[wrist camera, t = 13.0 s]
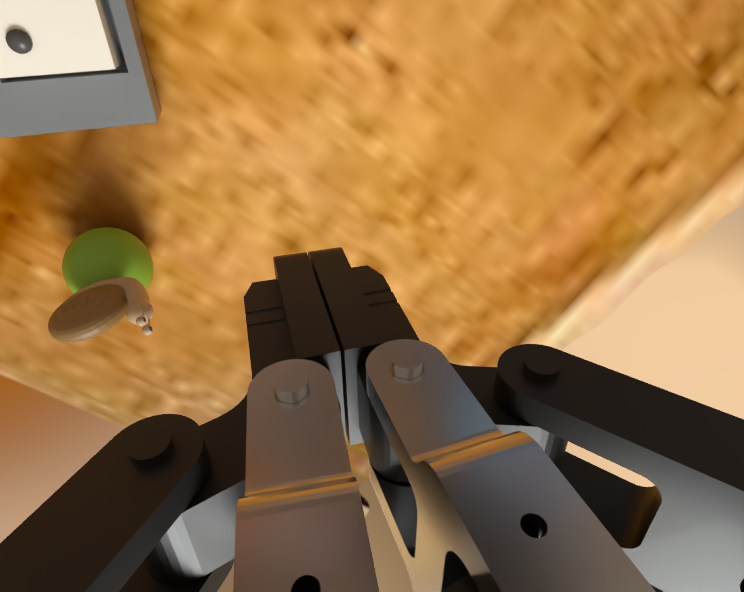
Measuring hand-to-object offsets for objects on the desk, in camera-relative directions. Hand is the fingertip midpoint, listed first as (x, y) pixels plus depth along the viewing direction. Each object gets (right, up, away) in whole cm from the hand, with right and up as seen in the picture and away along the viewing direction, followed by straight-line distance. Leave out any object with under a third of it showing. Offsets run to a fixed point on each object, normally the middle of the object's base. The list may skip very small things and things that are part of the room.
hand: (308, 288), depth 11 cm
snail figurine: (-17, +3, +25) cm, 30 cm away
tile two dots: (-16, +15, +15) cm, 27 cm away
